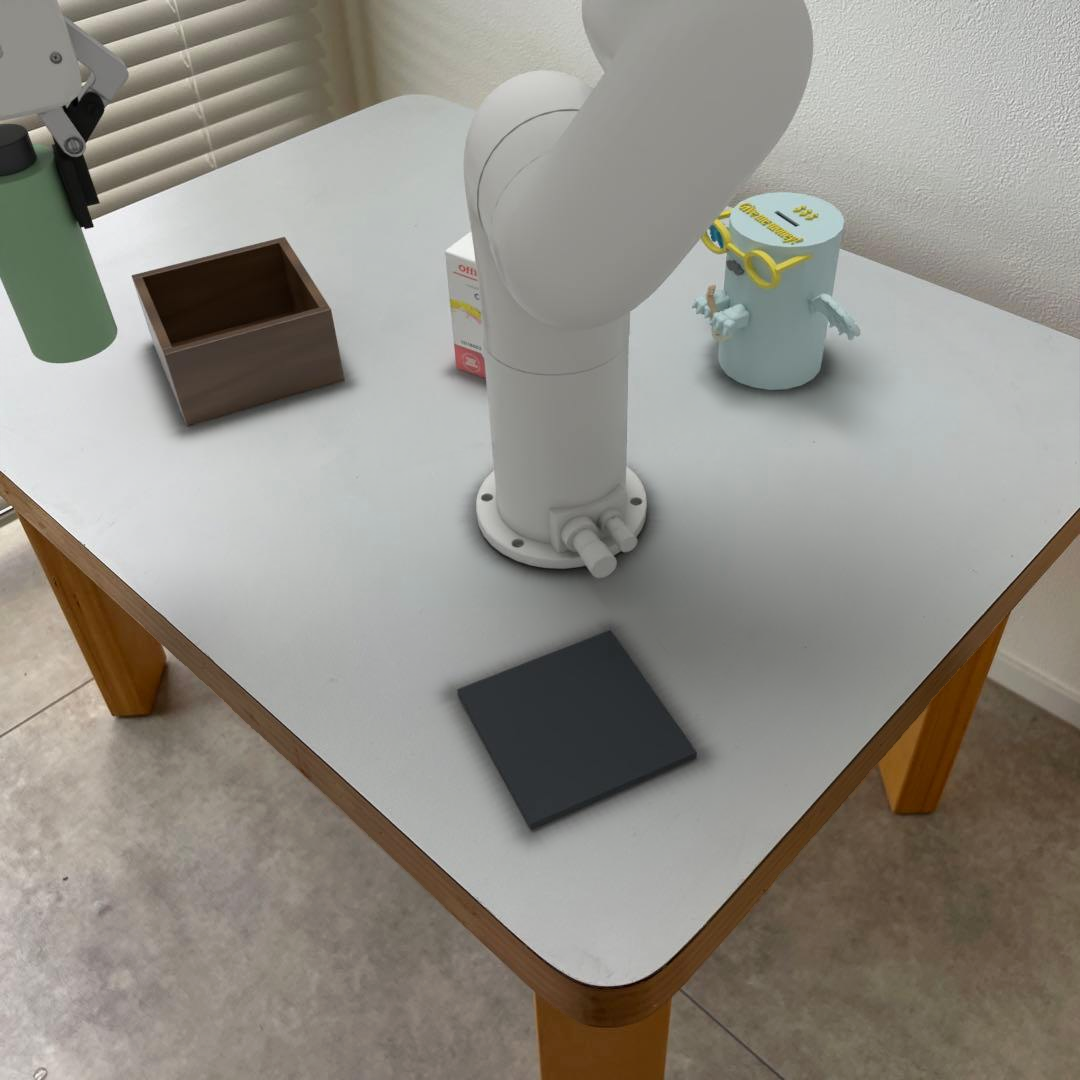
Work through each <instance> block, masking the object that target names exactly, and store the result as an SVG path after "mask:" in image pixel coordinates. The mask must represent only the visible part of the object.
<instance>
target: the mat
mask: <svg viewBox="0 0 1080 1080" xmlns="http://www.w3.org/2000/svg"><path fill="white" fill-rule="evenodd" d="M456 691H457V696H458V698H459V700H460V702H461V703H462V705H463V707H464V709H465V712H466V713H467V715H468V717H469V719H470V720H471V722H472V724H473V726H474V727H475V729H476V731H477V733H478V735H479V737H480V739H481V740H482V742H483V745H484V746H485V747H486V750H487V751H488V753H489V755H490V757H491V759H492V760H493V763H494V764H495V767H496V768H497V770H498V772H499V773H500V775H501V777H502V779H503V781H504V783H505V785H506V787H507V788H508V791H509V792H510V794H511V796H512V798H513V800H514V801H515V804H516V805H517V807H518V809H519V811H520V812H521V814H522V816H523V817H524V820H525V821H526V824H527V825H528V827H529V829H530V830H533V829H536V828H537V827H540V826H543V825H545V824H547V823H549V822H551V821H554V820H557V819H558V818H561V817H563V816H565V815H567V814H570V813H572V812H575V811H577V810H580V809H582V808H584V807H586V806H589V805H591V804H593V803H595V802H597V801H600V800H603V799H605V798H607V797H610V796H611V795H614V794H616V793H618V792H621V791H623V790H625V789H627V788H630V787H633V786H634V785H637V784H639V783H642V782H644V781H646V780H649V779H650V778H653V777H655V776H658V775H660V774H663V773H665V772H667V771H669V770H672V769H675V768H676V767H679V766H680V765H683V764H685V763H688V762H689V761H692V760H694V759H696V758H697V756H698V755H697V754H698V752H697V750H696V748H695V747H694V746H693V744H692V743H691V742H690V740H689V739H688V737H687V736H686V735H685V733H684V732H683V730H682V729H681V727H680V726H679V725H678V724H677V722H676V720H675V719H674V717H673V716H672V714H671V713H670V712H669V710H668V709H667V708H666V707H665V705H664V703H663V702H662V701H661V699H660V697H659V696H658V695H657V693H656V692H655V691H654V689H653V688H652V686H651V685H650V683H649V682H648V681H647V679H646V678H645V677H644V675H643V674H642V672H641V670H640V669H639V668H638V667H637V665H636V664H635V662H634V661H633V659H632V658H631V656H630V655H629V654H628V652H627V651H626V650H625V648H624V647H623V645H622V644H621V642H620V641H619V640H618V638H617V637H616V636H615V634H614V632H613V631H612V630H611V629H610V630H607V631H604V632H602V633H599V634H596V635H593V636H591V637H588V638H586V639H583V640H581V641H579V642H576V643H573V644H570V645H568V646H566V647H563V648H560V649H558V650H555V651H553V652H550V653H547V654H545V655H542V656H540V657H537V658H534V659H531V660H529V661H527V662H524V663H521V664H519V665H516V666H514V667H511V668H509V669H506V670H504V671H501V672H498V673H496V674H493V675H491V676H488V677H485V678H483V679H480V680H478V681H475V682H472V683H469V684H468V685H465V686H462V687H459V688H457V690H456Z"/></svg>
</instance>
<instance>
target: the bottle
mask: <svg viewBox="0 0 1080 1080" xmlns="http://www.w3.org/2000/svg"><path fill="white" fill-rule="evenodd" d="M28 131H29V130H28V129H27V128H26V127H25V126H23V125H21V124H16V123H0V280H1V281H0V282H1V283H2V286H3V289H4V290H5V292H6V295H7V297H8V299H9V303H10V305H11V306H12V309H13V311H14V314H15V316H16V318H17V321H18V323H19V325H20V328H21V329H22V332H23V334H24V335H23V336H24V337H25V340H26V342H27V344H28V346H29V348H30V351H31V353H32V355H33V356H34V357H35V358H36V359H38V360H40V361H42V362H45V363H49V364H70V363H75V362H80V361H83V360H87V359H90V358H92V357H94V356H96V355H98V354H100V353H102V352H103V351H105V350H106V349H108V348H109V347H110V346H111V345H112V344H113V343H114V341H115V340H116V338H117V335H118V326H117V324H116V320H115V318H114V315H113V312H112V310H111V307H110V304H109V301H108V298H107V295H106V293H105V289H104V287H103V285H102V282H101V278H100V277H99V273H98V271H97V270H98V269H97V268H96V265H95V262H94V259H93V256H92V253H91V250H90V248H89V246H88V243H87V242H88V241H87V240H86V237H85V233H84V231H83V229H82V228H83V227H82V228H80V226H79V223H78V220H77V218H76V215H75V212H74V209H73V207H72V204H71V201H70V198H69V195H68V193H67V190H66V187H65V184H64V182H63V179H62V176H61V173H60V170H59V168H58V165H57V162H56V158H55V155H54V151H53V149H52V148H50V147H49V146H46V145H43V144H40V143H39V144H38V143H33V141H32V140H31V136H30V134H29V132H28Z"/></svg>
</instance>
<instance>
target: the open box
mask: <svg viewBox="0 0 1080 1080" xmlns="http://www.w3.org/2000/svg"><path fill="white" fill-rule="evenodd" d="M131 279H132V282H133V285H134V288H135V291H136V294H137V297H138V301H139V303H140V307H141V310H142V313H143V316H144V319H145V322H146V325H147V328H148V332H149V335H150V338H151V342H152V344H153V346H154V349H155V351H156V354H157V356H158V359H159V362H160V364H161V366H162V369H163V372H164V374H165V377H166V379H167V381H168V384H169V386H170V388H171V392H172V394H173V397H174V398H175V401H176V403H177V406H178V408H179V411H180V413H181V415H182V418H183V421H184V423H185V426H186V427H187V428H188V427H191V426H192V427H193V426H195V425H198V424H199V425H200V424H202V423H206V422H208V421H209V422H210V421H212V420H216V419H219V418H222V417H225V416H230V415H232V414H236V413H239V412H243V411H247V410H250V409H252V408H256V407H259V406H263V405H266V404H270V403H273V402H277V401H280V400H283V399H287V398H291V397H293V396H297V395H300V394H303V393H304V394H305V393H307V392H310V391H315V390H317V389H320V388H321V389H322V388H324V387H328V386H332V385H334V384H338V383H342V382H345V380H346V379H345V374H344V369H343V364H342V359H341V353H340V349H339V348H340V347H339V343H338V338H337V337H338V336H337V332H336V327H335V322H334V317H333V312H332V308H331V307H330V305H329V304H328V302H327V300H326V299H325V297H324V295H323V294H322V293H321V291H320V289H319V288H318V286H317V285H316V283H315V281H314V280H313V278H312V277H311V276H310V274H309V272H308V271H307V268H305V266H304V265H303V263H302V262H301V260H300V257H298V255H297V254H296V252H295V250H294V249H293V248H292V246H291V244H290V242H289V241H288V239H287V238H286V237H285V236H282V237H278V238H274V239H269V240H266V241H262V242H258V243H254V244H250V245H246V246H242V247H238V248H235V249H230V250H227V251H223V252H218V253H215V254H211V255H207V256H203V257H198V258H194V259H190V260H186V261H183V262H178V263H174V264H171V265H167V266H163V267H158V268H155V269H151V270H147V271H143V272H139V273H134V274H132V275H131Z"/></svg>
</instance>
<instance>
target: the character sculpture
mask: <svg viewBox="0 0 1080 1080" xmlns="http://www.w3.org/2000/svg"><path fill="white" fill-rule="evenodd" d="M724 219H729V221H728V226H726V224H725V223H724V222H723V221H721V220H724ZM844 224H845V218H844V216H843V214H842V212H841V211H840V210H839V209H838V208H837V207H835V206H834V205H833V204H832V203H830V202H828V201H826V200H824V199H821V198H819V197H816V196H813V195H809V194H805V193H799V192H798V193H797V192H787V191H781V192H779V191H778V192H765V193H762V194H757V195H752V196H750V197H748V198H745V199H744V200H740V202H738V203H737V204H736V205H735V206H734V207H733V208H731V209H727V210H723V212H722V213H721V214H720V215H719V217H718V218H717V219H716V220H715V221H714V223H713V224H712V225H711V226H710V228H709V229H708V230H709V234H708V230H707V231H706V232H705V234H704V235H703V236H702V237H701V239H700V240H701V242H702V243H703V245H704V246H705V247H706V248H707V249H708V250H709V251H710V252H711V253H713V254H716V255H723V254H726V256H725V258H726V259H725V270H724V279H723V280H724V281H723V289H716V288H717V285H716V284H711V285H709V286H708V287H707V290H706V293H705V295H704V296H696V297H695V298H694V302H693V304H691V309H695V310H696V311H695V314H696V315H700V314H701V315H703V316H704V319H708V318H709V326H710V327H711V329H710V330H711V336H712V337H713V339H714V340H715V341H716V342H718V351H717V360H718V363H719V367H720V369H721V370H723V373H725V375H727V376H728V377H729V378H731V379H733V380H734V381H735V382H737V383H738V384H739V383H740V384H741V385H745V386H748V387H750V388H754V389H761V390H766V391H767V390H768V391H777V390H789V389H793V388H797V387H801V386H804V385H805V384H808V383H809V382H810V381H812V380H814V379H815V378H816V376H817V375H818V374H819V373H820V372H821V368H822V363H823V362H822V361H823V357H824V349H825V344H826V338H827V330H828V327H829V328H830V329H831V328H833V327H835V328H836V329H837V331H838V336H842V335H843V334H846V336H847V340H849V341H853V340H854V338H855V337H857V338H858V337H860V335H861V329H860V327H859V325H858V324H856V322H855V319H854V318H853V317H852V315H851V314H848V311H847V310H846V308H844V307H843V306H841V304H840V303H839V302H838V301H837V300H836V299H833V294H834V287H835V281H836V276H837V275H836V274H837V270H838V269H837V268H838V262H839V256H840V250H841V244H842V238H843V237H842V236H843V232H844V226H845V225H844ZM709 235H710V236H709ZM715 242H717V244H718V245H716V244H715ZM828 325H829V326H828Z"/></svg>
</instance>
